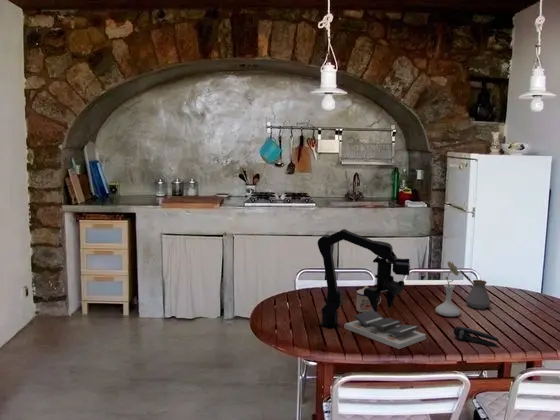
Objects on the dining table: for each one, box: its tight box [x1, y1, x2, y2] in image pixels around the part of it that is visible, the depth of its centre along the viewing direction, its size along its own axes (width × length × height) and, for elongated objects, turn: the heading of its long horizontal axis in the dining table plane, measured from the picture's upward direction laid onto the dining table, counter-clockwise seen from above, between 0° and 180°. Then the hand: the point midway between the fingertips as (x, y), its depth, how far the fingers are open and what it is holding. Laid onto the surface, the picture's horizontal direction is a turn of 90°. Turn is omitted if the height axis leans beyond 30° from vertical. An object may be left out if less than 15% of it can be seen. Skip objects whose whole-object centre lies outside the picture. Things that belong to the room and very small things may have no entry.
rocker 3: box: [387, 324, 420, 335], centre depth 220 cm, size 12×7×1 cm, turn 130°
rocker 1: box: [353, 310, 385, 326], centre depth 234 cm, size 12×7×1 cm, turn 130°
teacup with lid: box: [355, 285, 382, 313], centre depth 257 cm, size 12×9×12 cm
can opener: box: [453, 326, 499, 347], centre depth 219 cm, size 18×7×6 cm, turn 55°
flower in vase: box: [435, 260, 462, 317], centre depth 253 cm, size 13×11×25 cm
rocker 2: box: [370, 317, 403, 330], centre depth 227 cm, size 12×7×1 cm, turn 130°
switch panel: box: [343, 319, 427, 350], centre depth 227 cm, size 18×29×3 cm, turn 40°
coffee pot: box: [458, 269, 492, 310], centre depth 270 cm, size 21×12×15 cm, turn 19°
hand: (382, 309), depth 228 cm, fingers open, 9 cm apart
